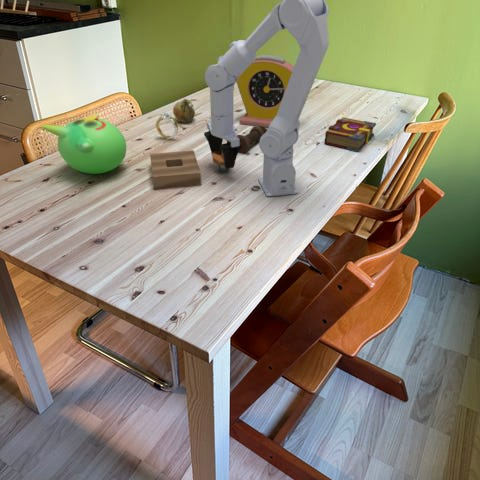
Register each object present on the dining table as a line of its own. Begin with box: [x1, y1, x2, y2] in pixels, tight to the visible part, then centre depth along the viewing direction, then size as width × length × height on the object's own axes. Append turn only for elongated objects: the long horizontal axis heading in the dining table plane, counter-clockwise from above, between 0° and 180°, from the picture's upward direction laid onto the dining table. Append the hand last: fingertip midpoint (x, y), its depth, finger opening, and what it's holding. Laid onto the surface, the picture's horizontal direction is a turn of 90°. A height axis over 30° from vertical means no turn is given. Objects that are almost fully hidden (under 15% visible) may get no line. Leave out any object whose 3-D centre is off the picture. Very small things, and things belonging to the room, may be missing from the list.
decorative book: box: [324, 117, 377, 153], centre depth 138 cm, size 11×16×5 cm
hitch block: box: [149, 149, 202, 190], centre depth 117 cm, size 14×12×4 cm
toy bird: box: [41, 113, 127, 175], centre depth 116 cm, size 18×17×15 cm
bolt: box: [236, 126, 268, 155], centre depth 134 cm, size 6×5×15 cm
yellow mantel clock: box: [235, 54, 295, 128], centre depth 144 cm, size 22×9×22 cm, turn 71°
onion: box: [172, 98, 196, 123], centre depth 149 cm, size 8×8×8 cm
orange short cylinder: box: [211, 150, 230, 174], centre depth 119 cm, size 6×6×5 cm
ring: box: [155, 113, 179, 141], centre depth 136 cm, size 7×3×8 cm, turn 66°
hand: (223, 162), depth 119 cm, fingers open, 7 cm apart
